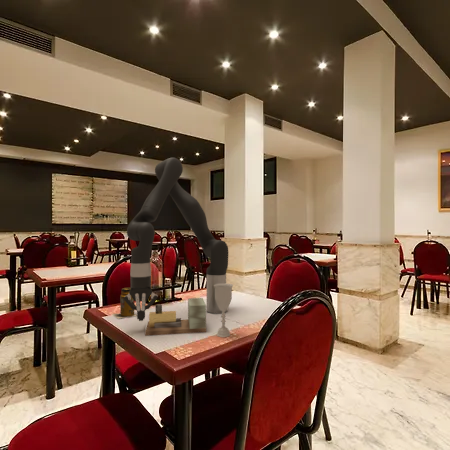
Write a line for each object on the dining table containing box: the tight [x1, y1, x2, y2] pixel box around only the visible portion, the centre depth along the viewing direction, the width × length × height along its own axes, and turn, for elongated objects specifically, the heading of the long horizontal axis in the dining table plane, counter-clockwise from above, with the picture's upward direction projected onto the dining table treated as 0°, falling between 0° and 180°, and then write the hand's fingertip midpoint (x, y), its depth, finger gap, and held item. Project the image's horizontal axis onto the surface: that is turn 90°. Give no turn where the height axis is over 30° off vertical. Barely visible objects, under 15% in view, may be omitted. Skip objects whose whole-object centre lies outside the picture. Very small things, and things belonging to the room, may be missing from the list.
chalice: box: [214, 283, 234, 338], centre depth 112 cm, size 7×7×18 cm
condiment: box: [113, 287, 137, 320], centre depth 137 cm, size 7×8×12 cm
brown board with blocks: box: [144, 297, 207, 337], centre depth 119 cm, size 22×12×10 cm, turn 100°
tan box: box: [148, 303, 177, 327], centre depth 118 cm, size 10×3×8 cm, turn 100°
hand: (141, 320), depth 117 cm, fingers closed
